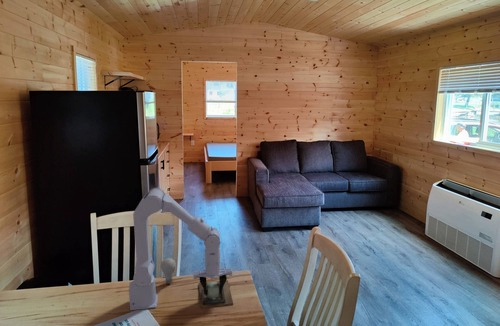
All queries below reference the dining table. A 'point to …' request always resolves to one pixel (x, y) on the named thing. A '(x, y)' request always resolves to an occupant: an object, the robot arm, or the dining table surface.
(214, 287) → the pale green pear shape
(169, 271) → the lightbulb
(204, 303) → the dark grey square frame
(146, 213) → the robot arm
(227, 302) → the board
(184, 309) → the dining table surface
